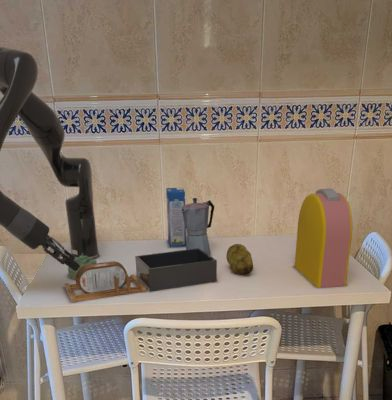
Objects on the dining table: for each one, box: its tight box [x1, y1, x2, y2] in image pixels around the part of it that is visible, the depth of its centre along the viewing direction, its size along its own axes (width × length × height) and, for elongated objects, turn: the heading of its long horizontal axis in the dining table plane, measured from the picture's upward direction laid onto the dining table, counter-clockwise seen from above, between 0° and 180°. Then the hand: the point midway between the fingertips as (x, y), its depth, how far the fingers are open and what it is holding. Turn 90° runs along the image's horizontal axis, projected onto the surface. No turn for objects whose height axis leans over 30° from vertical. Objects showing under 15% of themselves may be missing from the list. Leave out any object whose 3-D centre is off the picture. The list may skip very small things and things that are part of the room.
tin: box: [74, 260, 128, 294], centre depth 145 cm, size 15×3×8 cm, turn 116°
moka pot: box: [181, 197, 215, 256], centre depth 175 cm, size 10×15×20 cm, turn 137°
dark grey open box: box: [134, 248, 218, 292], centre depth 154 cm, size 14×21×7 cm
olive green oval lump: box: [226, 243, 254, 276], centre depth 160 cm, size 8×13×8 cm, turn 178°
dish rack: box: [63, 273, 147, 303], centre depth 147 cm, size 13×22×5 cm, turn 112°
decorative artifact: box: [67, 253, 98, 280], centre depth 159 cm, size 10×7×10 cm
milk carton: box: [165, 187, 187, 248], centre depth 188 cm, size 10×6×20 cm, turn 6°
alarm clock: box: [294, 188, 354, 289], centre depth 151 cm, size 21×9×26 cm, turn 9°
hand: (75, 264), depth 142 cm, fingers open, 8 cm apart
